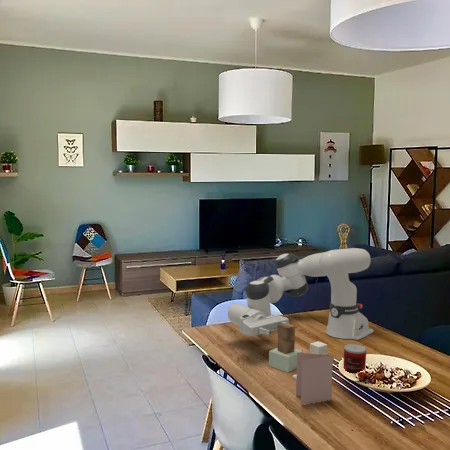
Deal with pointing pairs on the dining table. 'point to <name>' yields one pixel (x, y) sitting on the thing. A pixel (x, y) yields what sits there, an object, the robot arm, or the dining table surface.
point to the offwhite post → (318, 348)
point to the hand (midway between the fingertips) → (279, 330)
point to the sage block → (283, 360)
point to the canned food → (354, 358)
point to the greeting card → (314, 377)
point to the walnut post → (286, 338)
